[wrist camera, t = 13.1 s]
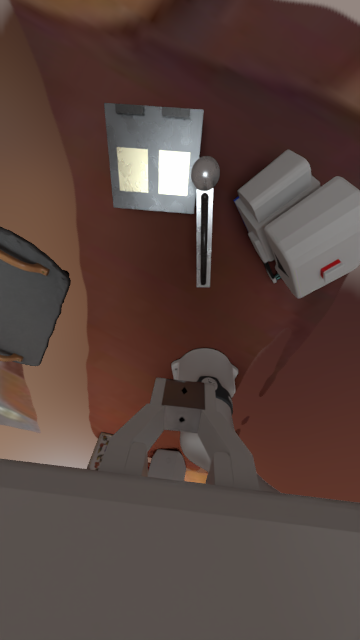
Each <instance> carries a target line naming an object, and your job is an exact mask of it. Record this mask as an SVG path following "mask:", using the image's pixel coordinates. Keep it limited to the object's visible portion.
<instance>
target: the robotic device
mask: <svg viewBox="0 0 360 640" xmlns="http://www.w3.org/2000/svg"><path fill="white" fill-rule="evenodd" d="M237 192H238V195H239V196H238V197H237V198H236V199H234V202H235V204H236V207H237V209H238V211H239V213H240V215H241V217H242V219H243V222H244V224H245V226H246V228H247V230H248V232H249V233H248V235H249V237H250V240H251V242H252V244H253V246H254V248H255V250H256V252H257V253H258V254H259V256H260V258H261V259H262V261H263V263H264V265H265V267H266V271H267V273H268V275H269V277H270V278H271V279H272V281H273V283H276V282H277V281H276V280H278V279H280V278H282V279H283V281H284V282H285V283H286V285H287V286H288V288H289V289H290V290H291V292H292V293H293V294H294V295H295V296H296V297H297V298H302V297H303V296H305V295H307V294H309V293H311V292H313V291H315V290H317V289H319V288H320V287H322V286H324V285H326V284H328V283H330V282H332V281H334V280H336V279H337V278H339V277H341V276H343V275H345V274H347V273H349V272H351V271H353V270H354V269H355V268H357V267H358V266H359V264H360V190H358V189H357V188H356V187H354V186H353V185H352V184H350V183H349V182H348V181H346V180H345V179H344V178H342V177H339V176H337V177H334V178H333V179H332V180H330V181H329V182H327V183H326V184H324V185H323V186H322V187H320V182H319V181H318V180H317V179H315V178H314V177H313V176H312V175H311V168H310V165H309V163H308V161H307V160H306V159H305V158H303V157H301V156H299V155H297V154H296V153H294V152H292V151H290V150H286V151H285V152H284V153H283V154H281V155H280V156H279V157H278V158H277V159H275V160H274V161H273V162H272V163H270V164H269V165H268V166H267V167H266V168H264V169H263V170H262V171H261V172H259V173H258V174H257V175H256V176H255V177H253V178H252V179H251V180H250V181H248V182H247V183H246V184H245V185H244V186H242V187H241V188H240V189H239V190H238V191H237ZM274 259H275V261H276V265H275V269H276V271H277V272H278V274H276V275H275V276H274V275H273V273H272V271H271V268H270V266H269V264H268V260H269V261H273V260H274Z"/></svg>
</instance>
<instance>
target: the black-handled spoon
mask: <svg viewBox="0 0 360 640" xmlns="http://www.w3.org/2000/svg"><path fill="white" fill-rule="evenodd" d="M219 176H220V169H219V165H218V163H217V162H216V160H215V159H214V158H212V157H210V156H203V157H201V158H199V159H198V160H197V161H196V162H195V163H194V165H193V167H192V170H191V179H192V182H193V184H194V186H195V187H196V188H197V287H210V269H211V240H212V212H213V187H214V186H215V185H216V184H217V182H218V180H219Z"/></svg>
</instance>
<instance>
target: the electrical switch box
mask: <svg viewBox="0 0 360 640" xmlns="http://www.w3.org/2000/svg"><path fill="white" fill-rule="evenodd" d="M185 472H186V466H185V462H184V459H183V456H182V455H181V454H180V453H179V451H172V450H163V449H157V451H156V452H155V454H154V455H153V457H152V460H151V463H150V467H148V477H154V478H162V479H170V480H178V481H184V477H185Z"/></svg>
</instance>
